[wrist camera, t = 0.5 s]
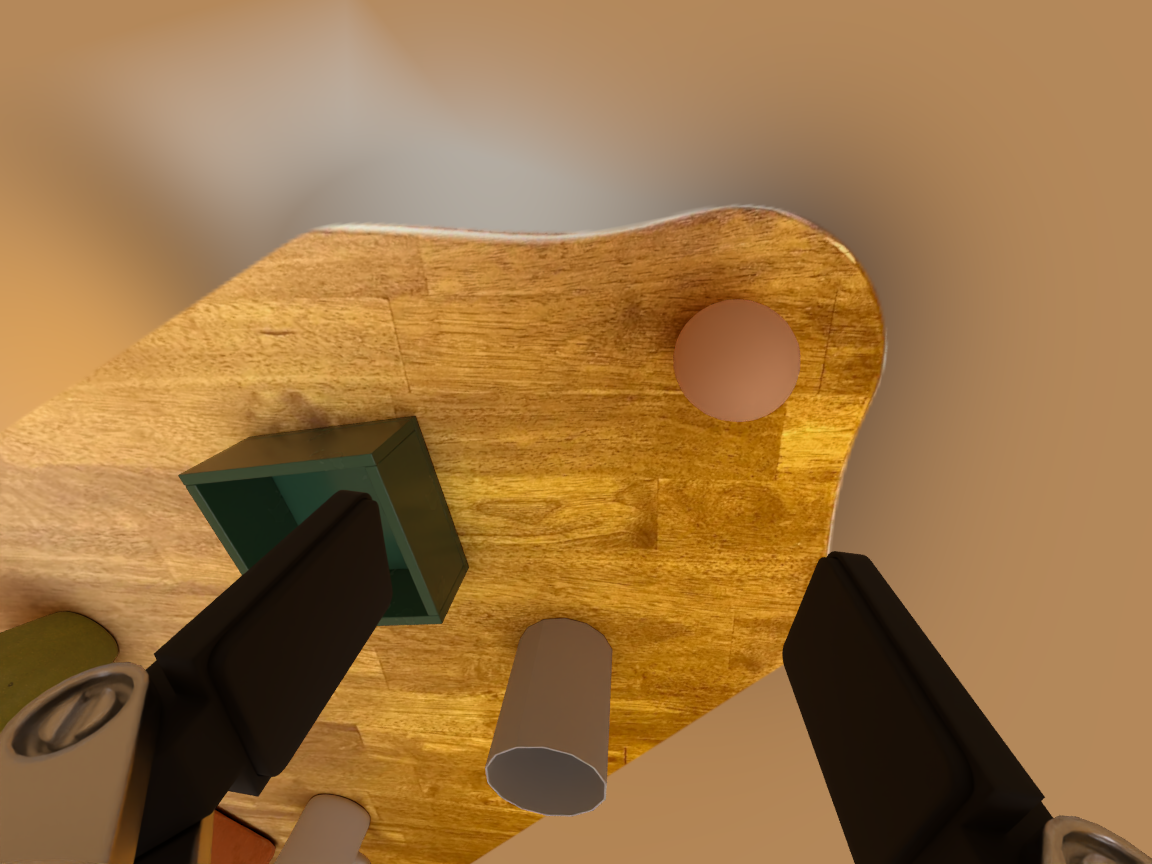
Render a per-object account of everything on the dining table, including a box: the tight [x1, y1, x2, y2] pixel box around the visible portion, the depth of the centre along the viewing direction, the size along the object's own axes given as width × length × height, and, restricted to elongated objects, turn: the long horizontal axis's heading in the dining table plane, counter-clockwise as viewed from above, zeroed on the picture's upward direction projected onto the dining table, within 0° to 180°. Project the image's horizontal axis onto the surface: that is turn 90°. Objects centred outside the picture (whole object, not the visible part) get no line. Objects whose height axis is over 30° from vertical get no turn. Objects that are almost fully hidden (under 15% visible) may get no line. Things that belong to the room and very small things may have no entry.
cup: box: [485, 618, 612, 816], centre depth 33 cm, size 8×8×10 cm
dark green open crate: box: [178, 416, 469, 626], centre depth 31 cm, size 14×14×6 cm
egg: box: [673, 299, 800, 422], centre depth 21 cm, size 6×6×8 cm
